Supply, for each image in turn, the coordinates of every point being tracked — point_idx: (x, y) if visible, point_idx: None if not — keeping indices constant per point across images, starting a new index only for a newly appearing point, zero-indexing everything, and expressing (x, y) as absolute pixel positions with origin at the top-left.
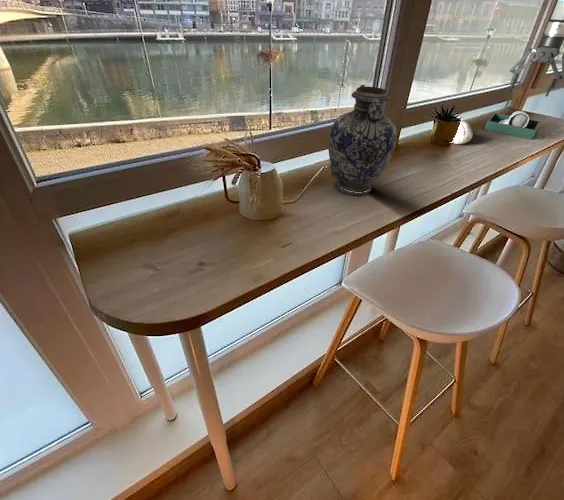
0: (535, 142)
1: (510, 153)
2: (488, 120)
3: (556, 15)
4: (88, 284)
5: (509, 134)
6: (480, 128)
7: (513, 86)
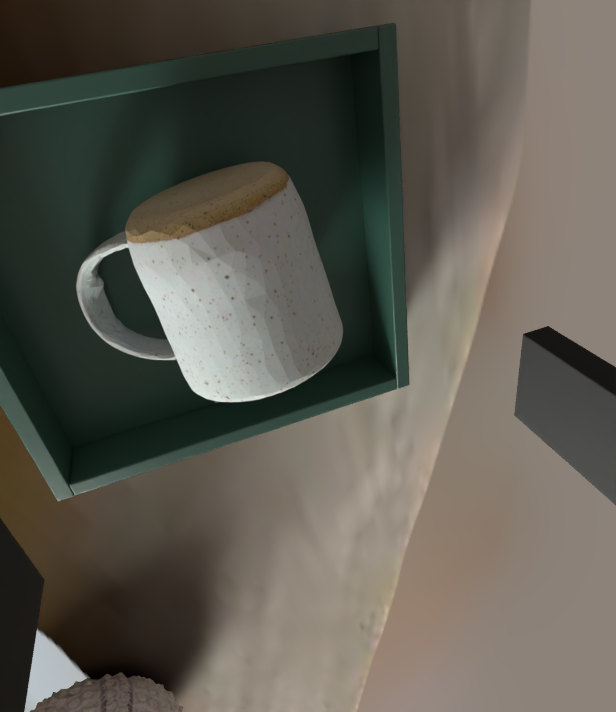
0: None
1: (346, 604)
2: (56, 483)
3: None
4: None
5: None
6: None
7: (11, 633)
